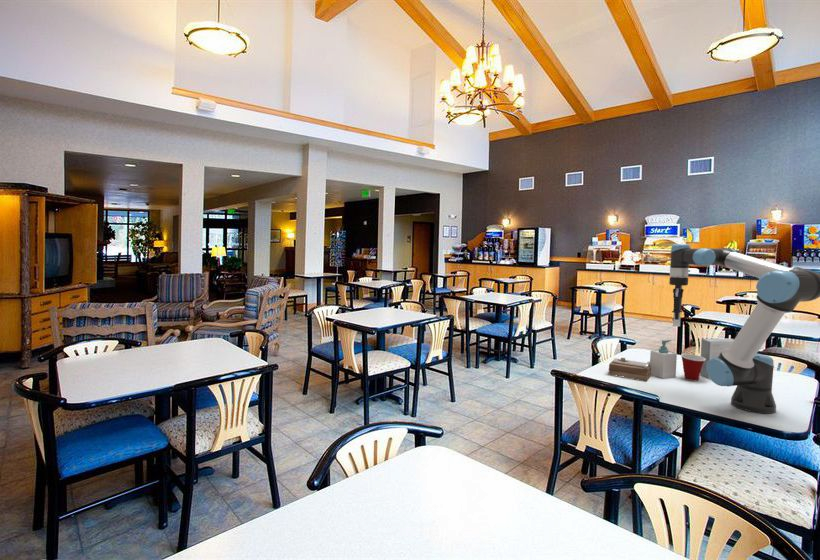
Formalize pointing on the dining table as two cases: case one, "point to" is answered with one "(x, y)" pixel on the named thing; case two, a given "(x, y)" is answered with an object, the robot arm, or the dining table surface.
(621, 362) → the steel hasp
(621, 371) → the walnut box
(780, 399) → the dining table surface
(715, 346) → the hard drive box
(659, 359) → the soap bottle
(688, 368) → the plastic cup
